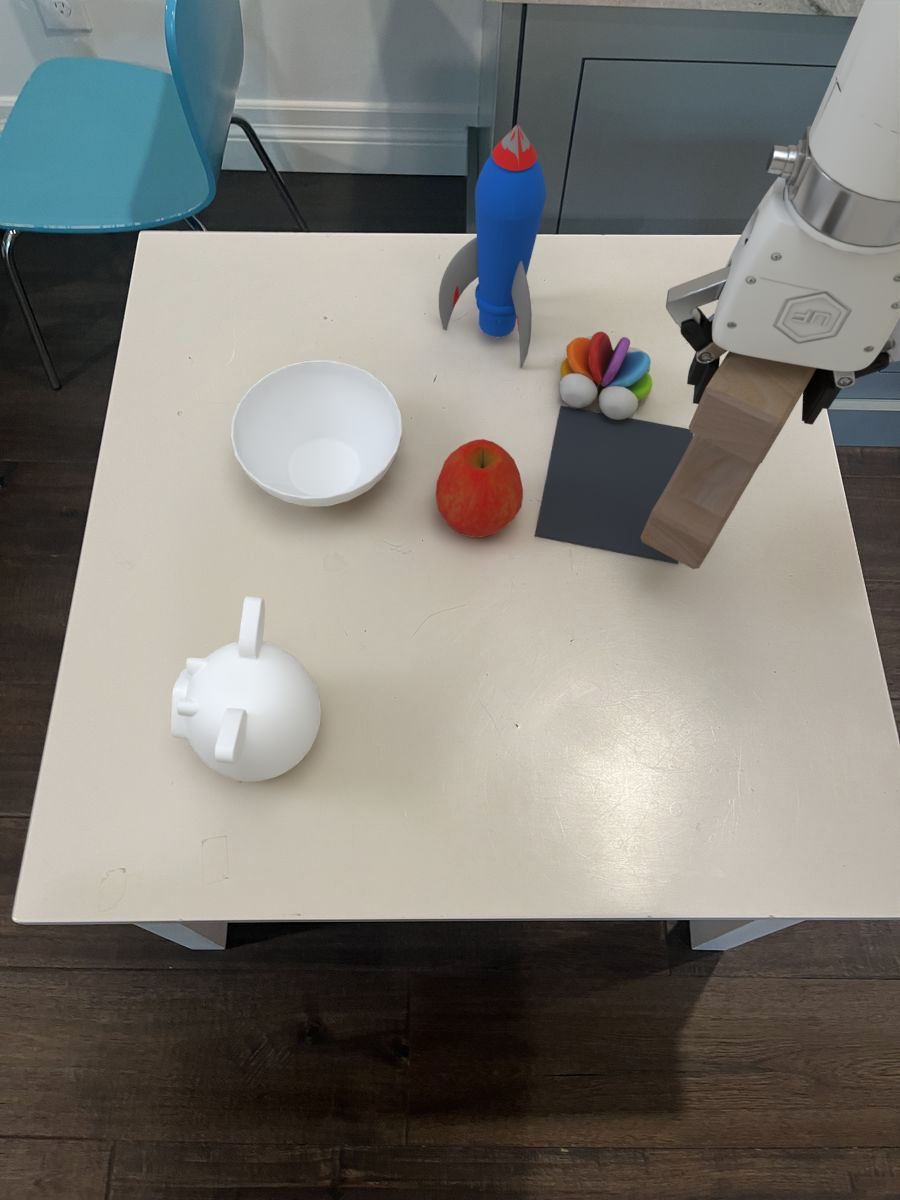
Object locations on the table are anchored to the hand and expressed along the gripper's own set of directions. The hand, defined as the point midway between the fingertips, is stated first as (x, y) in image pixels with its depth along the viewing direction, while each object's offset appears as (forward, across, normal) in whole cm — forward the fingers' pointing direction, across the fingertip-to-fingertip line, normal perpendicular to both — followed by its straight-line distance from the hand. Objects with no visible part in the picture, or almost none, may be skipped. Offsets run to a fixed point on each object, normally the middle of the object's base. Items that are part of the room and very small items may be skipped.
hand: (753, 397), depth 62 cm
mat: (+25, -6, +8) cm, 27 cm away
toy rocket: (+25, -23, +24) cm, 42 cm away
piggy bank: (+25, -33, -25) cm, 48 cm away
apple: (+25, -19, +1) cm, 31 cm away
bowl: (+25, -35, +3) cm, 43 cm away
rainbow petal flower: (+25, -9, +19) cm, 32 cm away
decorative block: (+15, 0, 0) cm, 15 cm away
